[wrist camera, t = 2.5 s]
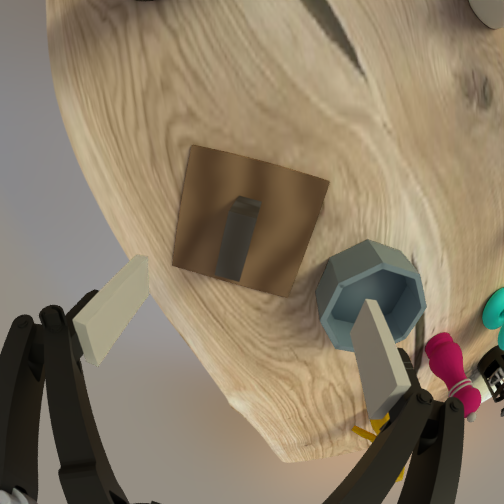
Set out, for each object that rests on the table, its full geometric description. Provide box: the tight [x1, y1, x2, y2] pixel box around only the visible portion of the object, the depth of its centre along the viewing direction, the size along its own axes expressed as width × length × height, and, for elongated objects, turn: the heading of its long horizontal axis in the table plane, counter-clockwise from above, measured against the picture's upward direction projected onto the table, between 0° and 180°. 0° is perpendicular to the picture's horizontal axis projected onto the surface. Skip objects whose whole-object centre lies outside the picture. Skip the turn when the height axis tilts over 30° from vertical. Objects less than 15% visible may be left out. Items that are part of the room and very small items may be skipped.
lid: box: [172, 145, 330, 298], centre depth 34 cm, size 18×18×8 cm
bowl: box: [315, 239, 426, 352], centre depth 36 cm, size 14×14×7 cm
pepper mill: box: [425, 332, 481, 422], centre depth 33 cm, size 7×7×20 cm
